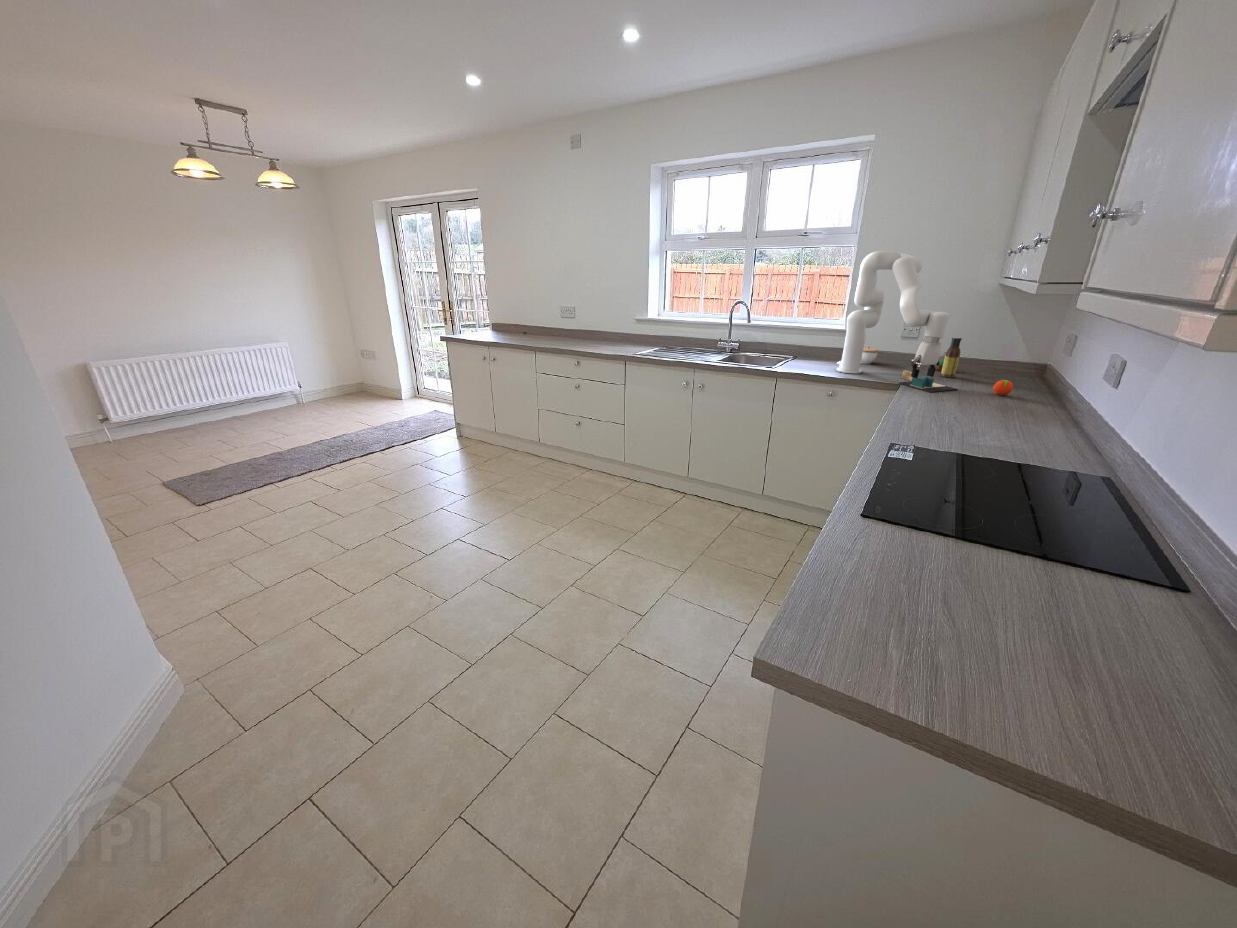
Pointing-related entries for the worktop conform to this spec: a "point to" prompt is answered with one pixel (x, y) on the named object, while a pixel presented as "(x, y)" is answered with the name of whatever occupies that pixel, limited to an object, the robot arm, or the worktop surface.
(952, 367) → the sauce bottle
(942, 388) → the word mat
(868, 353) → the trinket box
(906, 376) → the letter I
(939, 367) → the food container
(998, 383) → the tomato
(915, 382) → the letter H
